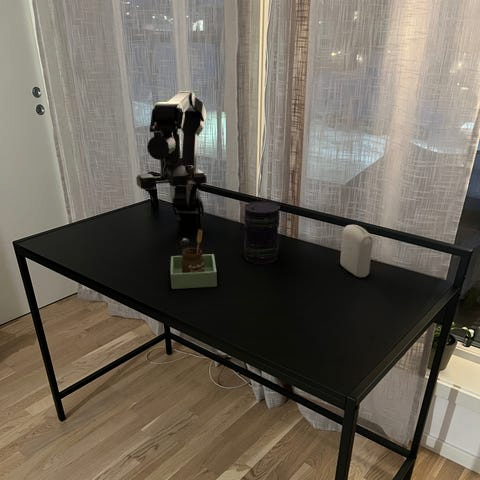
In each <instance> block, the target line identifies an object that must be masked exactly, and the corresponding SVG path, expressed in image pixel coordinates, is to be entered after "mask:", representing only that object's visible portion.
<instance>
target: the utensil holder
mask: <svg viewBox="0 0 480 480" xmlns="http://www.w3.org/2000/svg"><path fill="white" fill-rule="evenodd" d="M201 230H202V229H201ZM201 230H198V234H197V235H196V236H197V237H196V242H197V245H196V247H191V246H192V245H191V243H189V242H190V240H189V239H188V238H185V237H184V238H182V239H181V241H180V242H181V243H183V242H184V241H185V240H186V243H185V242H184V243H183V244H180V246H181V248H182V252H181V256H183V258H182V273H193V272H204V259H203V257H202V255H203V250H202V249H201V248H200V243H202V238H203V233H204V231H203V230H202V231H201ZM199 231H200V233H199ZM202 232H203V233H202ZM185 244H186V245H187V246H185ZM186 247H187V248H186ZM183 248H184V249H183Z"/></svg>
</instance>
